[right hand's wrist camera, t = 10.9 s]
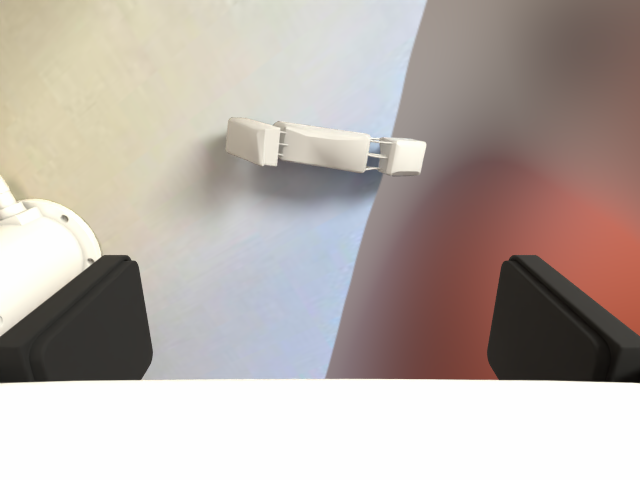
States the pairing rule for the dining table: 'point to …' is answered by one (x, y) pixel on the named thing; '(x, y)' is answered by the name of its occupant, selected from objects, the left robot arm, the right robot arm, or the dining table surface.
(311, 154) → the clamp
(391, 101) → the dining table surface
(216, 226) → the dining table surface
